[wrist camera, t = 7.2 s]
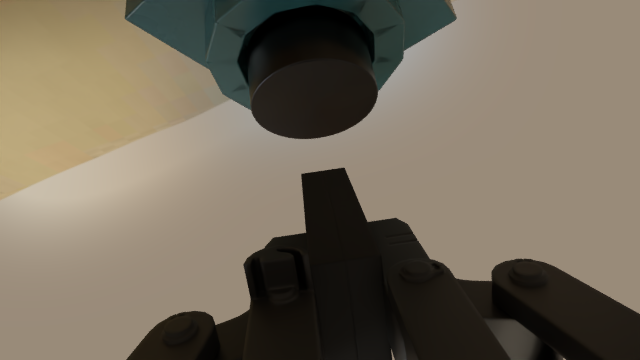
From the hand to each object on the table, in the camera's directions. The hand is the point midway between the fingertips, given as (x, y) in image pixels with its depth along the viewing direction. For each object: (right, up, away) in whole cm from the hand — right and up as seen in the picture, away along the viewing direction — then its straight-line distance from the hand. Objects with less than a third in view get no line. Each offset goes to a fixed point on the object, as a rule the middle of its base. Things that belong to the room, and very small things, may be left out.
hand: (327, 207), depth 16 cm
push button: (-1, +6, +2) cm, 7 cm away
